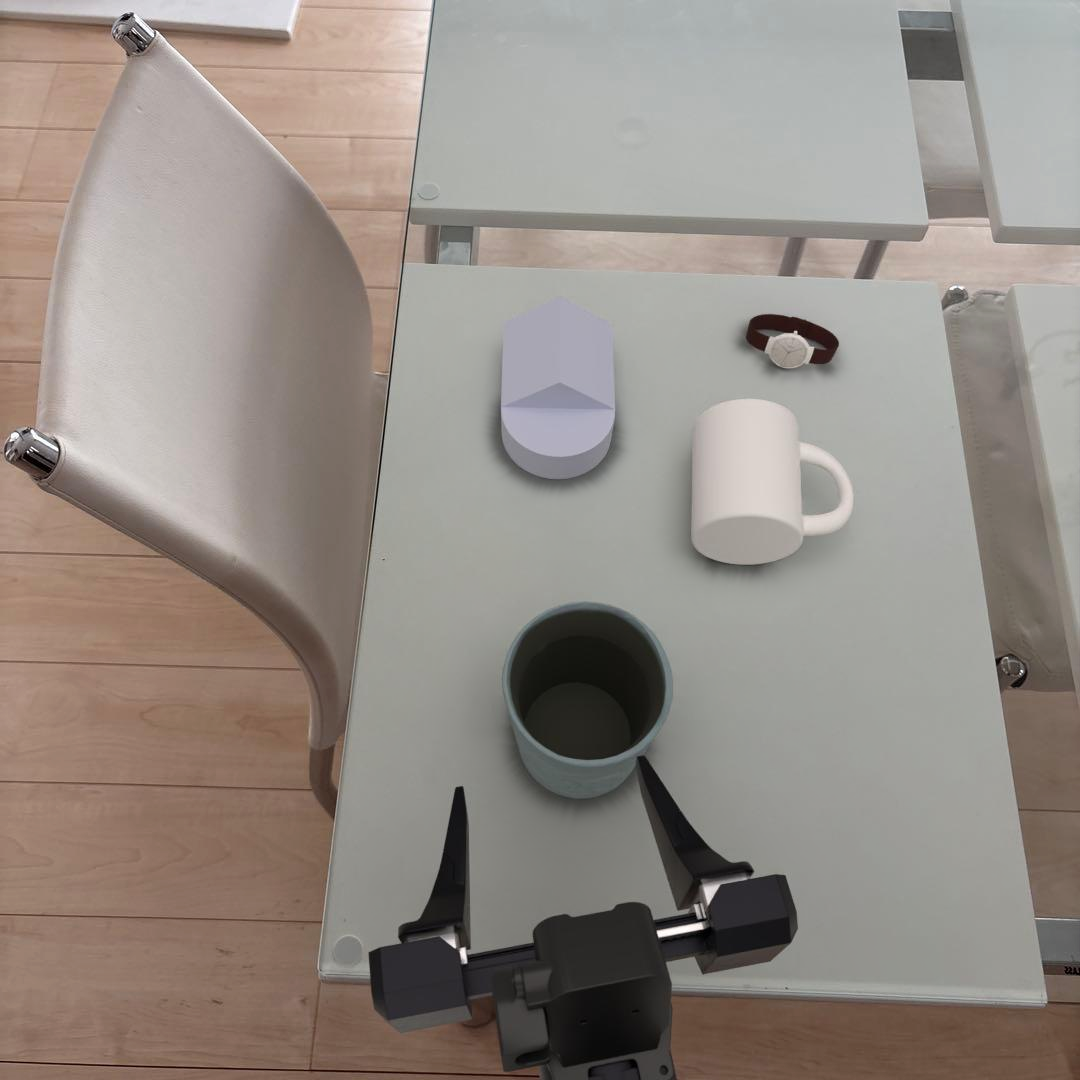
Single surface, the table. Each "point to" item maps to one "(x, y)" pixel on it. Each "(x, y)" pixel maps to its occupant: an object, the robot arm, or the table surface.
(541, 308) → the wedge on round base
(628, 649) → the teal cup
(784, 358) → the watch
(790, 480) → the mug
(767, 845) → the table surface
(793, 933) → the robot arm
